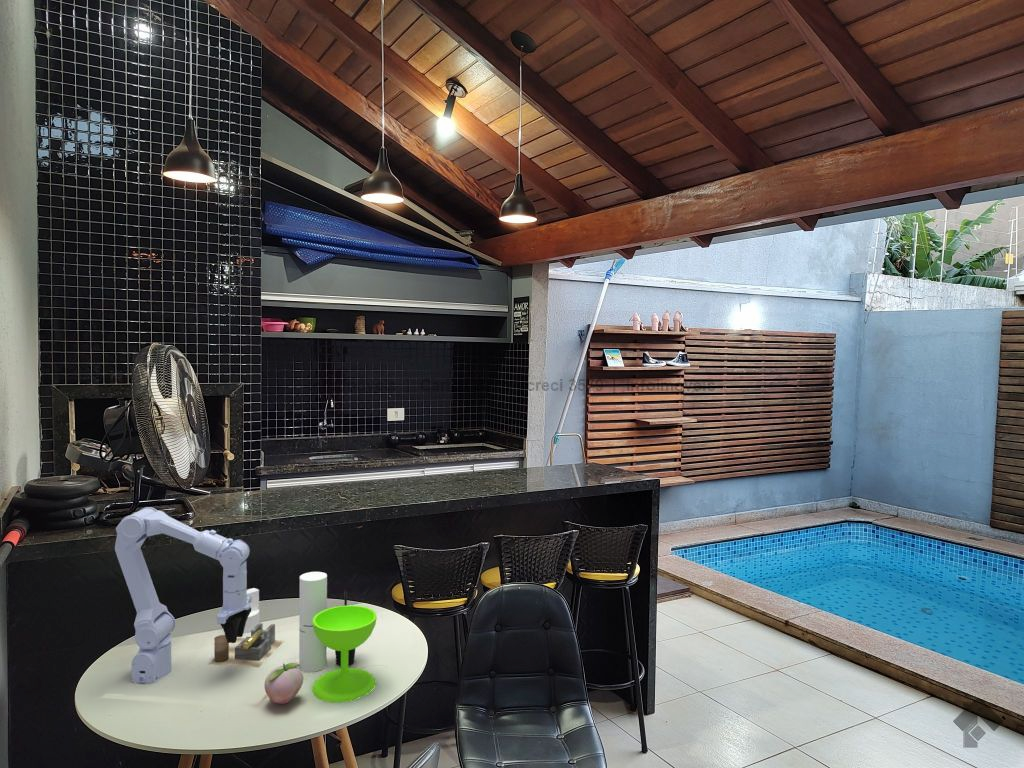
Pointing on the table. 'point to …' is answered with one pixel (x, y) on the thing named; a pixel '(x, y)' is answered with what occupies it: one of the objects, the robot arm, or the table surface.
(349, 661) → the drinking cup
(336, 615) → the wineglass
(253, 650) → the dock
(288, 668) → the decorative fruit
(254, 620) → the base with upright slab
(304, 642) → the cylindrical container
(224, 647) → the peg
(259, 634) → the pin
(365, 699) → the table surface
